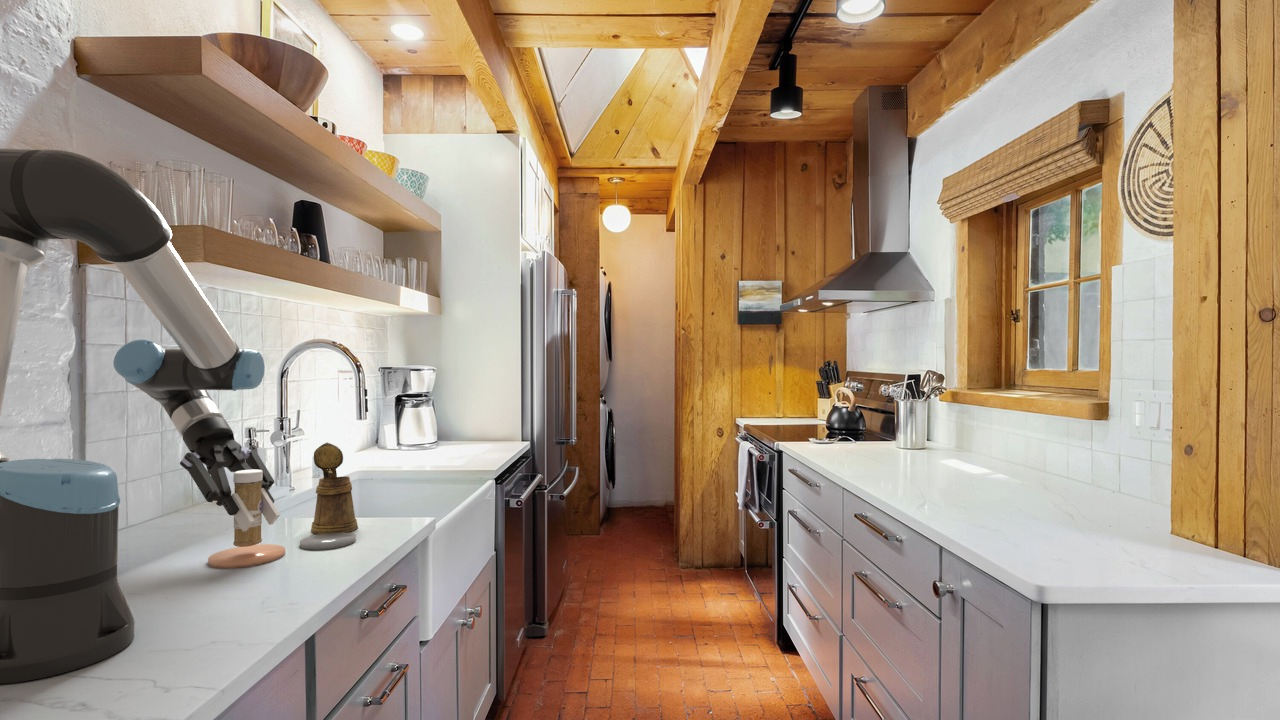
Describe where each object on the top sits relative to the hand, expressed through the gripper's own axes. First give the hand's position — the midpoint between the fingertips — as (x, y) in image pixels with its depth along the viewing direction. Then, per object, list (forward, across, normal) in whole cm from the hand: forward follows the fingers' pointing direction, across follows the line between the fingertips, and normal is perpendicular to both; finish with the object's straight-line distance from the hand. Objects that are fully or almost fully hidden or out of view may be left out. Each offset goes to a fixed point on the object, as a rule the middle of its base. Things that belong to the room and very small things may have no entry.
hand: (261, 522), depth 114 cm
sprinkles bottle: (0, 0, -6) cm, 6 cm away
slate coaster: (+6, -13, -4) cm, 15 cm away
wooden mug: (-1, -22, -10) cm, 24 cm away
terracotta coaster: (+2, 0, -7) cm, 8 cm away
